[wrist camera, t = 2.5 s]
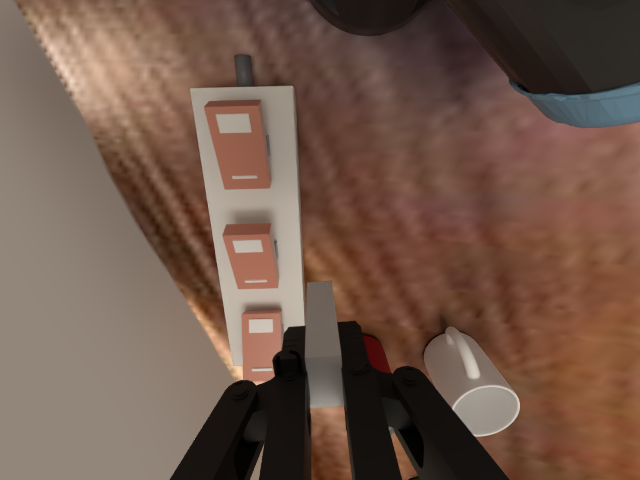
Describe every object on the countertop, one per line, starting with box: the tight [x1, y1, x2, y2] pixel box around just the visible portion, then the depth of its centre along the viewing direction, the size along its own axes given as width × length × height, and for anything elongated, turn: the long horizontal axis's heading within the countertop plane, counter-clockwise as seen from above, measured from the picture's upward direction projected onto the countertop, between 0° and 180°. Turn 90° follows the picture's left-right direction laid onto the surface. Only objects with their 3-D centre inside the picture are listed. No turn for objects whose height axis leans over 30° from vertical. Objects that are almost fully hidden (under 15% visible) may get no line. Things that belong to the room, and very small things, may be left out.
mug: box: [424, 327, 520, 436], centre depth 40 cm, size 12×8×10 cm
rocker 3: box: [241, 310, 283, 381], centre depth 36 cm, size 8×5×2 cm, turn 1°
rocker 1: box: [204, 100, 272, 190], centre depth 29 cm, size 8×5×2 cm, turn 2°
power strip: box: [190, 54, 306, 366], centre depth 36 cm, size 37×10×5 cm, turn 1°
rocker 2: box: [222, 223, 279, 289], centre depth 32 cm, size 8×5×2 cm, turn 2°
